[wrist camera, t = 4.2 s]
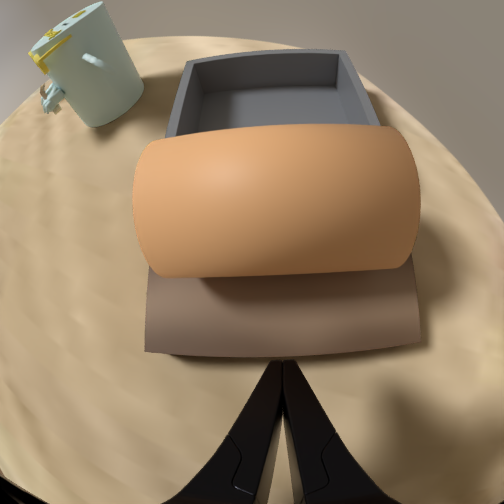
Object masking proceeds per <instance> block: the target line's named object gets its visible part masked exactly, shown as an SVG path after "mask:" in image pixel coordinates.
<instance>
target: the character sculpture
mask: <svg viewBox="0 0 504 504" xmlns="http://www.w3.org/2000/svg"><path fill="white" fill-rule="evenodd" d="M29 55H30V57H31V58H32V59H33V61H34V62H35V63H36V65H37V66H38V67H39V68H40V70H41V71H42V72H43V73H44V74H47V75H48V76H49V78H50V79H51V80H52V82H53V83H52V84H51V85H50V86H49V88H48V89H47V90H46V91H44V87H45V83H44V84H43V85H42V86H41V89H40V94H41V95H42V97H41V104H42V105H43V110H44V113H46V112H47V114H49V112H51V111H53V112H54V114H55V115H56V114H57V113H58V112H59V111H60V110H61V107H60V106H59V104H58V103H59V102H60V101H61V100H62V99H63V98H65V99H66V100H67V102H68V103H69V104H70V105H71V107H72V108H73V109H74V111H75V112H76V113H77V114H78V116H79V117H80V118H81V120H82V121H83V122H84V123H85V125H87V126H89V127H99V126H102V125H105V124H107V123H109V122H111V121H113V120H115V119H117V118H118V117H120V116H121V115H122V114H124V113H125V112H127V111H128V110H129V109H130V108H131V107H132V106H133V105H134V104H135V103H136V102H137V101H138V99H139V98H140V97H141V95H142V93H143V90H144V83H143V81H142V80H141V78H140V76H139V74H138V72H137V70H136V68H135V66H134V64H133V62H132V60H131V58H130V56H129V54H128V52H127V50H126V48H125V46H124V44H123V42H122V40H121V38H120V36H119V34H118V32H117V30H116V28H115V25H114V23H113V21H112V19H111V17H110V15H109V13H108V11H107V9H106V7H105V5H104V3H103V2H98V3H95V4H93V5H90V6H88V7H86V8H84V9H82V10H81V11H79V12H77V13H75V14H74V15H72V16H70V17H69V18H67V19H66V20H64V21H63V22H61V23H60V24H59V25H57V26H56V27H55V28H53V29H51V30H49V31H48V32H47V33H46V34H45V35H44V37H43V38H41V39H40V40H39V41H38V42H37V44H35V45H34V47H33V48H32V50H31V51H30V52H29Z"/></svg>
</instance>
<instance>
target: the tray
mask: <svg viewBox="0 0 504 504" xmlns="http://www.w3.org/2000/svg"><path fill="white" fill-rule="evenodd" d="M287 124H358V125H376V126H381V125H380V123H379V120H378V118H377V115H376V113H375V111H374V108H373V106H372V104H371V101H370V99H369V97H368V95H367V93H366V90H365V88H364V86H363V84H362V82H361V80H360V78H359V76H358V74H357V72H356V70H355V68H354V66H353V65H352V62H351V60H350V58H349V57H348V55H347V53H346V51H341V50H323V49H283V50H264V51H252V52H242V53H233V54H226V55H219V56H213V57H207V58H201V59H196V60H191V61H187V62H186V65H185V68H184V71H183V74H182V78H181V81H180V84H179V87H178V91H177V94H176V97H175V101H174V105H173V108H172V112H171V116H170V119H169V123H168V127H167V131H166V135H165V138H170V137H176V136H182V135H188V134H194V133H201V132H208V131H216V130H224V129H233V128H243V127H254V126H268V125H287Z"/></svg>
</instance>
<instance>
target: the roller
mask: <svg viewBox="0 0 504 504" xmlns="http://www.w3.org/2000/svg"><path fill="white" fill-rule="evenodd" d="M420 207H421V200H420V185H419V178H418V173H417V168H416V164H415V161H414V158H413V155H412V152H411V150H410V148H409V146H408V144H407V142H406V140H405V139H404V137H403V136H402V135H401V134H400V132H399V131H397V130H396V129H395V128H392V127H388V126H376V125H358V124H287V125H268V126H254V127H243V128H233V129H224V130H216V131H208V132H201V133H194V134H188V135H182V136H176V137H170V138H165V139H160V140H155V141H152V142H151V143H149V144H148V145H147V146H146V148H145V149H144V150H143V152H142V154H141V156H140V158H139V161H138V164H137V167H136V171H135V176H134V183H133V216H134V223H135V229H136V234H137V237H138V241H139V244H140V247H141V250H142V252H143V255H144V257H145V259H146V261H147V262H148V264H149V266H150V267H151V268H152V270H153V271H154V272H155V273H156V274H157V275H159V276H161V277H163V278H204V277H238V276H266V275H289V274H310V273H330V272H347V271H364V270H379V269H393V268H398V267H400V266H401V265H403V264H404V262H405V261H406V260H407V259H408V257H409V255H410V253H411V251H412V249H413V247H414V244H415V241H416V237H417V233H418V228H419V221H420Z"/></svg>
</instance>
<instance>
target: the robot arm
mask: <svg viewBox="0 0 504 504" xmlns="http://www.w3.org/2000/svg"><path fill="white" fill-rule="evenodd" d="M282 417H283V420H284V428H285V435H286V443H287V450H288V458H289V466H290V473H291V481H292V489H293V497H294V504H402V503H400V502H398V501H396V500H394V499H393V498H391V497H389V496H388V495H387V494H385V493H384V492H383V491H382V490H381V489H380V488H379V487H378V486H377V485H376V484H375V483H374V481H373V480H372V479H371V478H370V477H369V476H368V474H367V473H366V472H365V471H364V470H363V469H362V467H361V466H360V465H359V464H358V463H357V461H356V460H355V459H354V457H353V456H352V455H351V454H350V452H349V451H348V449H347V448H346V446H345V445H344V443H343V442H342V440H341V438H340V437H339V435H338V433H337V432H336V430H335V428H334V427H333V425H332V423H331V421H330V420H329V418H328V416H327V415H326V413H325V411H324V409H323V408H322V406H321V404H320V403H319V401H318V399H317V397H316V396H315V394H314V392H313V390H312V389H311V387H310V385H309V383H308V382H307V380H306V378H305V377H304V375H303V373H302V371H301V370H300V368H299V366H298V364H297V362H296V361H295V360H294V359H290V360H283V362H282V360H271V361H270V362H269V364H268V366H267V367H266V369H265V371H264V373H263V375H262V376H261V378H260V380H259V382H258V384H257V385H256V387H255V389H254V391H253V392H252V394H251V396H250V398H249V399H248V401H247V403H246V404H245V406H244V408H243V409H242V411H241V413H240V414H239V416H238V418H237V419H236V421H235V423H234V424H233V426H232V428H231V429H230V431H229V433H228V435H227V436H226V437H225V439H224V440H223V442H222V443H221V445H220V446H219V448H218V449H217V451H216V452H215V453H214V455H213V456H212V457H211V458H210V460H209V461H208V462H207V463H206V464H205V466H204V467H203V468H202V469H201V470H200V471H199V472H198V473H197V474H196V475H195V476H194V478H193V479H192V480H191V481H190V482H189V483H188V484H187V485H186V486H185V487H184V488H183V489H182V490H181V491H180V492H179V493H177V494H176V495H175V496H174V497H172V498H171V499H169V500H167V501H165V502H164V503H162V504H267V503H268V498H269V493H270V488H271V483H272V477H273V472H274V467H275V461H276V455H277V450H278V444H279V438H280V431H281V425H282ZM0 504H49V503H47V502H45V501H43V500H42V499H40V498H38V497H37V496H35V495H33V494H31V493H30V492H28V491H26V490H25V489H23V488H21V487H20V486H18V485H17V484H15V483H13V482H12V481H10V480H9V479H7V478H6V477H4V476H3V475H2V474H0ZM498 504H504V500H503V501H502V502H500V503H498Z"/></svg>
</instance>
